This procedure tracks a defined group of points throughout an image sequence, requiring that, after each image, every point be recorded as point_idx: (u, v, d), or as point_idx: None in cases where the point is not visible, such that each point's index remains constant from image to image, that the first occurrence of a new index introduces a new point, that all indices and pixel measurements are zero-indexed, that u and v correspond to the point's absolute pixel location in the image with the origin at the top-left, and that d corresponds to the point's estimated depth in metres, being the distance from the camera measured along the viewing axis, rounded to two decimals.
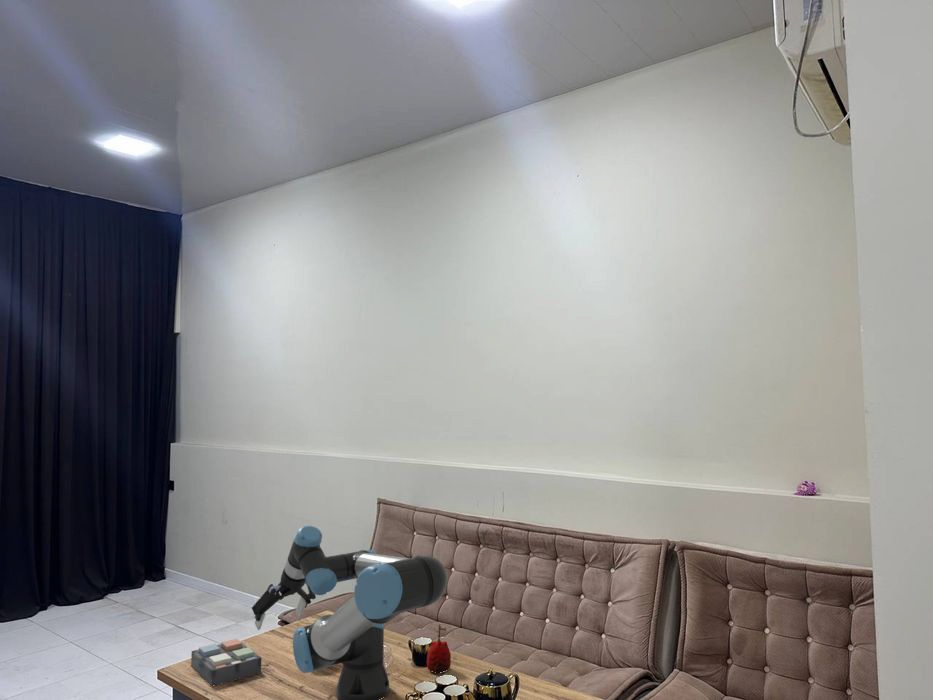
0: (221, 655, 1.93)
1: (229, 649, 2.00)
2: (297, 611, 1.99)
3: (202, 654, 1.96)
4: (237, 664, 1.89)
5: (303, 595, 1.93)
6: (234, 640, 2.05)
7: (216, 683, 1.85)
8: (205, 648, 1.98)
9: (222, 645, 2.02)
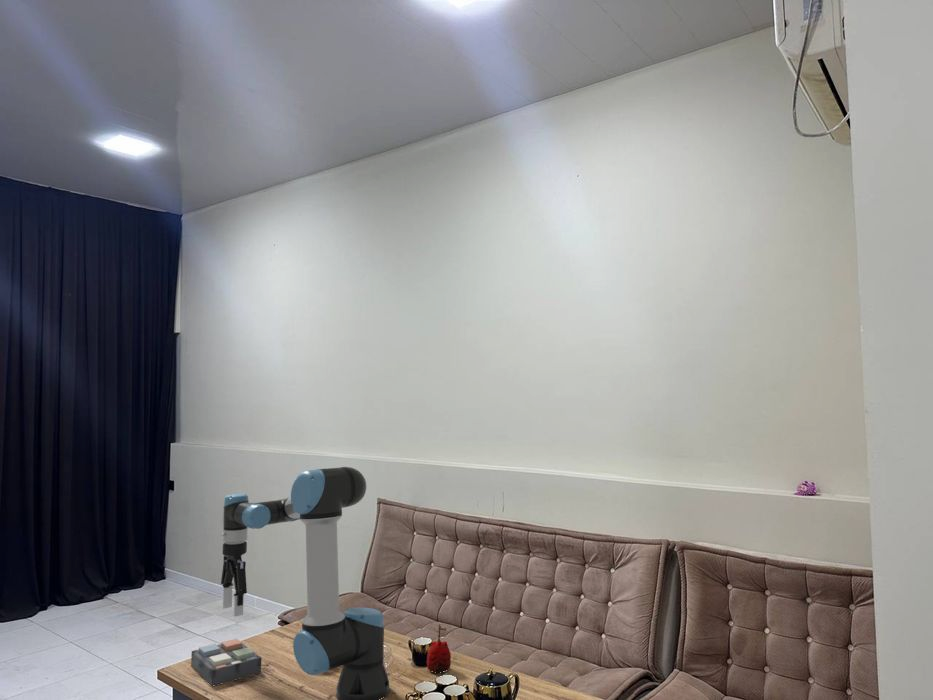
0: (221, 655, 1.93)
1: (229, 649, 2.00)
2: (226, 604, 2.07)
3: (202, 654, 1.96)
4: (237, 664, 1.89)
5: None
6: (234, 640, 2.05)
7: (216, 683, 1.85)
8: (205, 648, 1.98)
9: (222, 645, 2.02)
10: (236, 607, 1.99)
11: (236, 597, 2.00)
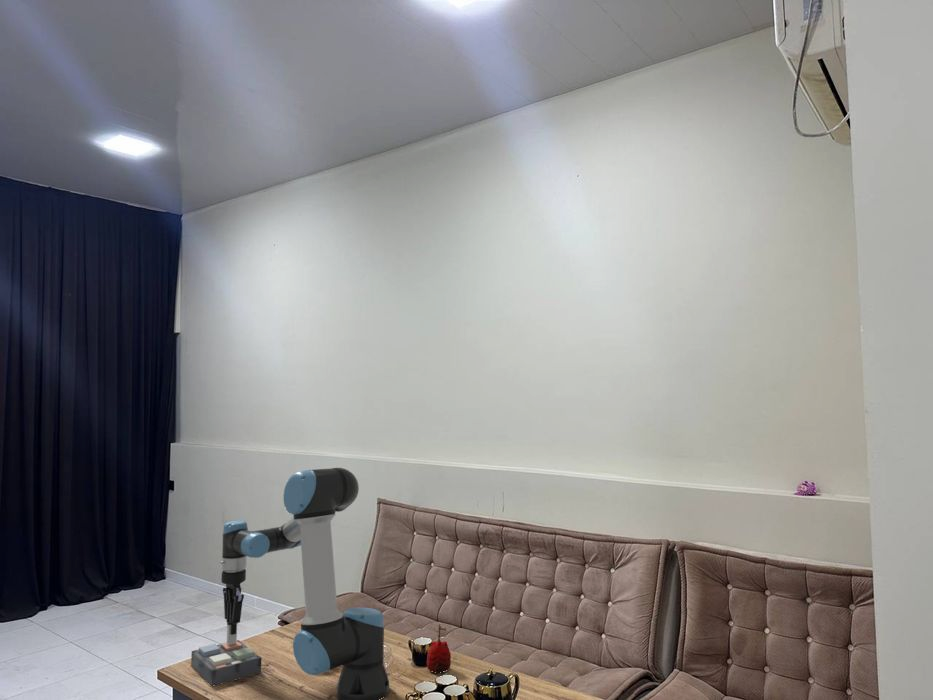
0: (221, 655, 1.93)
1: None
2: None
3: (202, 654, 1.96)
4: (237, 664, 1.89)
5: None
6: None
7: (216, 683, 1.85)
8: (205, 648, 1.98)
9: (222, 647, 2.02)
10: (229, 636, 2.02)
11: (229, 626, 2.02)
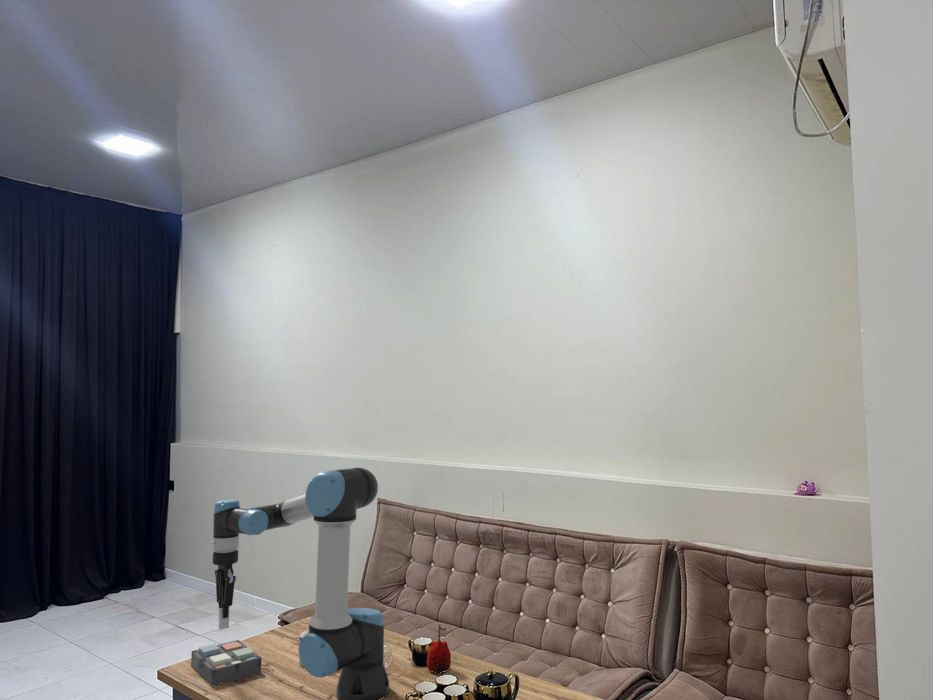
0: (221, 655, 1.93)
1: None
2: None
3: (202, 654, 1.96)
4: (237, 664, 1.89)
5: None
6: (234, 643, 2.05)
7: (216, 683, 1.85)
8: (205, 648, 1.98)
9: (222, 648, 2.02)
10: (221, 620, 1.93)
11: (221, 609, 1.93)
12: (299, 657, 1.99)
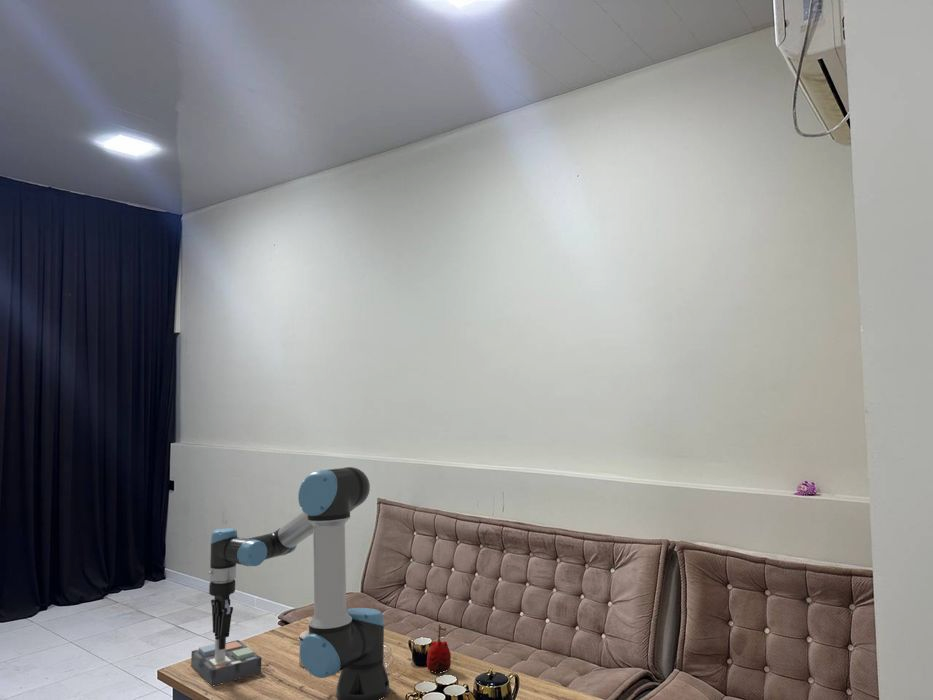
0: None
1: None
2: None
3: (202, 654, 1.96)
4: (237, 664, 1.89)
5: None
6: (234, 643, 2.05)
7: (216, 683, 1.85)
8: (205, 648, 1.98)
9: None
10: (218, 651, 1.90)
11: (218, 641, 1.90)
12: (299, 657, 1.99)
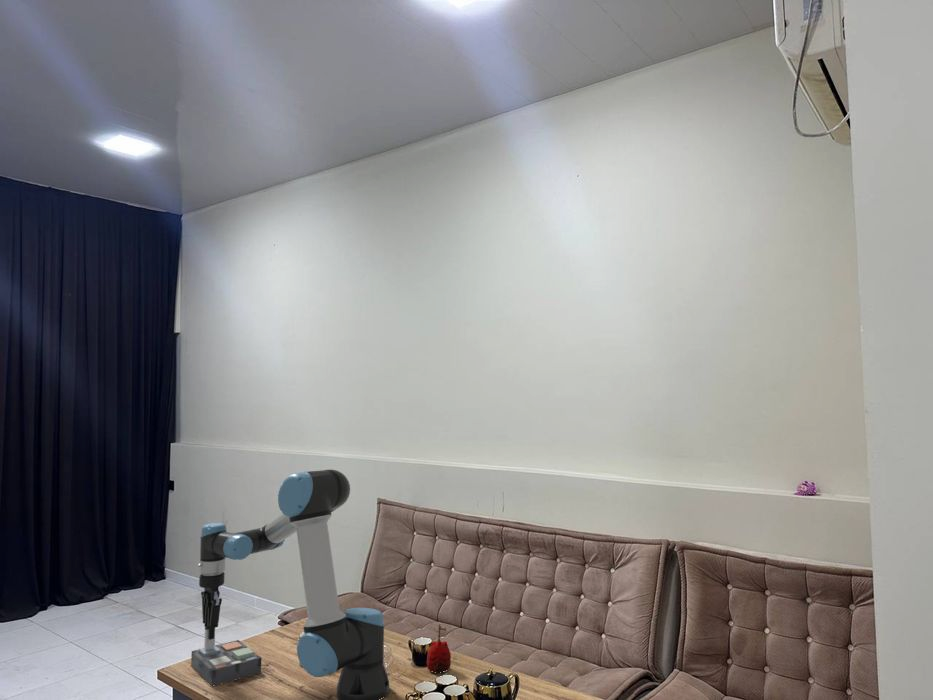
0: (221, 658, 1.92)
1: None
2: None
3: (202, 656, 1.96)
4: (237, 664, 1.89)
5: None
6: (234, 643, 2.05)
7: (216, 683, 1.85)
8: None
9: (222, 648, 2.02)
10: (207, 641, 1.98)
11: (207, 631, 1.98)
12: None
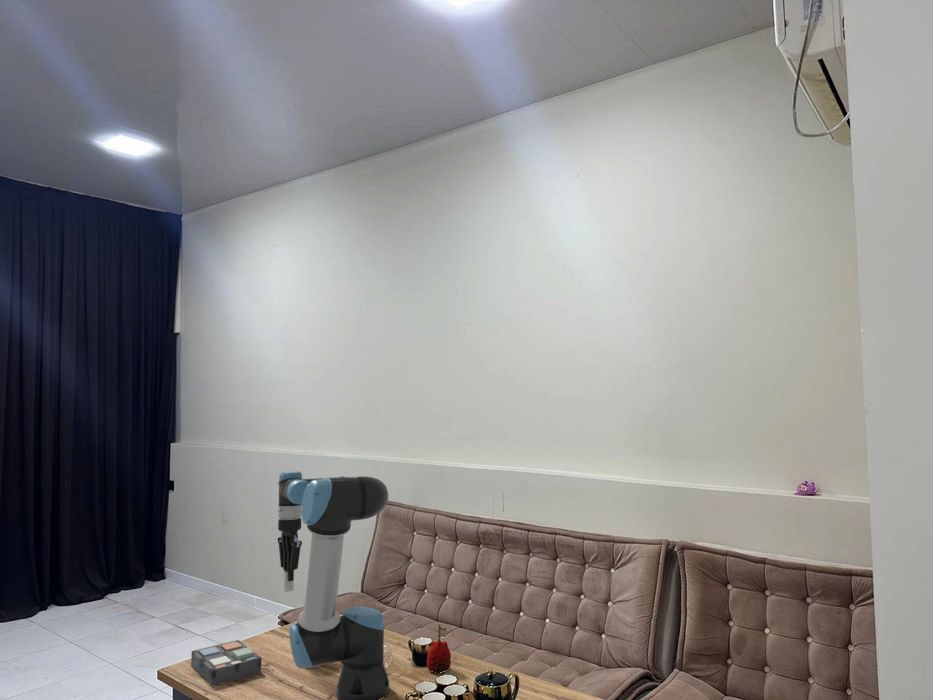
0: (221, 658, 1.92)
1: None
2: None
3: None
4: (237, 664, 1.89)
5: None
6: (234, 643, 2.05)
7: (216, 683, 1.85)
8: (205, 651, 1.98)
9: (222, 648, 2.02)
10: (287, 583, 2.06)
11: (287, 573, 2.06)
12: None
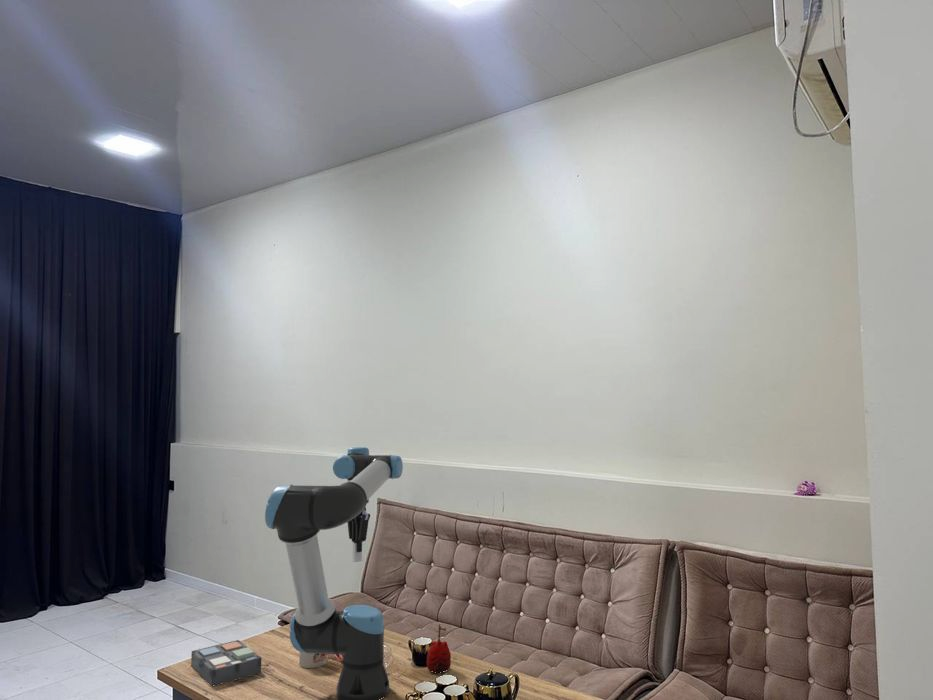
0: (221, 658, 1.92)
1: None
2: None
3: None
4: (237, 664, 1.89)
5: None
6: (234, 643, 2.05)
7: (216, 683, 1.85)
8: (205, 651, 1.98)
9: (222, 648, 2.02)
10: (356, 554, 2.14)
11: (355, 544, 2.14)
12: (299, 657, 1.99)
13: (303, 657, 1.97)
